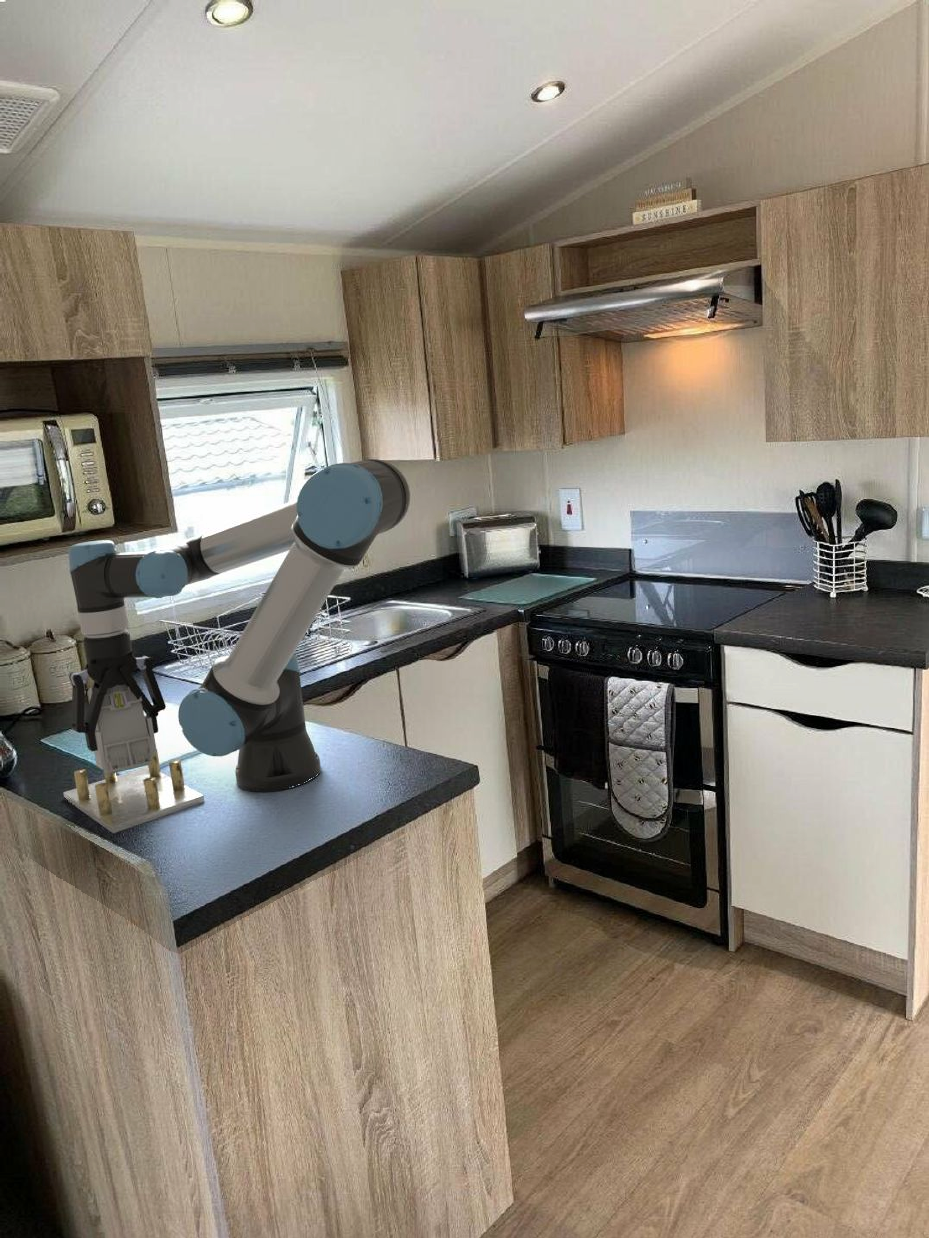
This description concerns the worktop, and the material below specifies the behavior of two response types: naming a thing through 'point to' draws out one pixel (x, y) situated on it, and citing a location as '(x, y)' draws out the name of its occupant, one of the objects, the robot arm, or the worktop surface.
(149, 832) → the worktop surface
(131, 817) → the mounting plate
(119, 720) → the circuit breaker
